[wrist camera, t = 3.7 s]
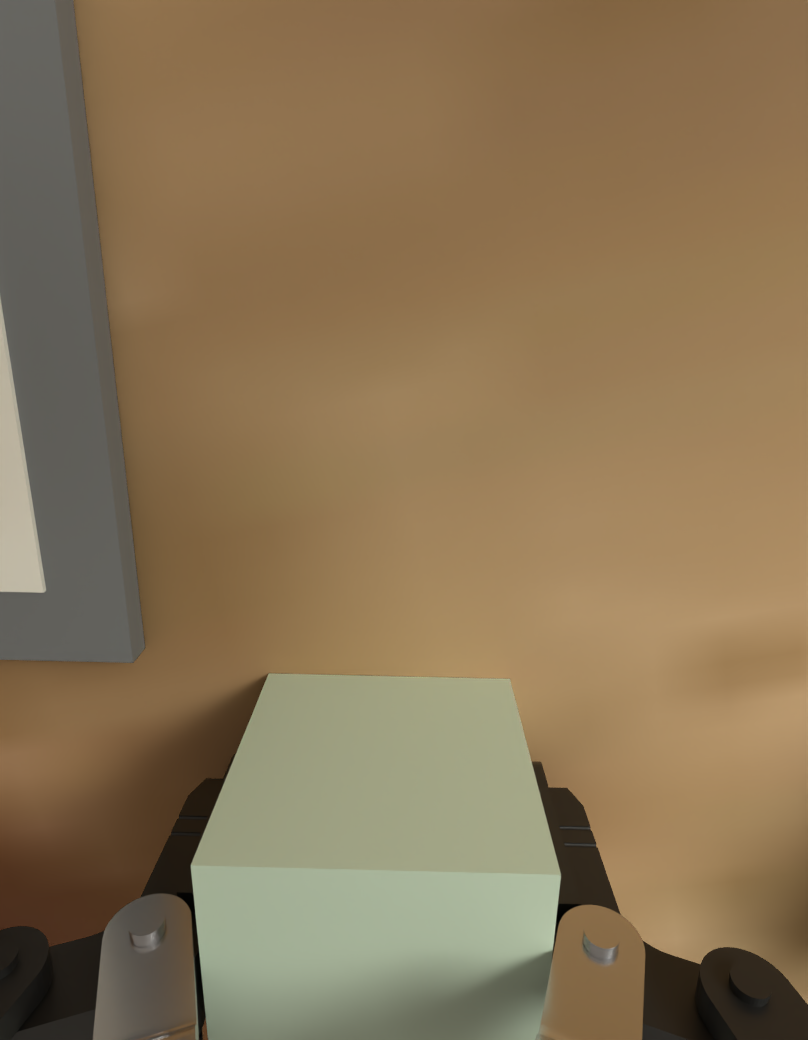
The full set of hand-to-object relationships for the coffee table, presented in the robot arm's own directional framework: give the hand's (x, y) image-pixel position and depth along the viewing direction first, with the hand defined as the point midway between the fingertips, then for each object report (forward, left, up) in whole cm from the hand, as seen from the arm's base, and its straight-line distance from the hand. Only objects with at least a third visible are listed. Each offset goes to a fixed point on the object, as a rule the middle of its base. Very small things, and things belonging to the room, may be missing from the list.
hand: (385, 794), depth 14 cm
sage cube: (0, 0, 0) cm, 0 cm away
